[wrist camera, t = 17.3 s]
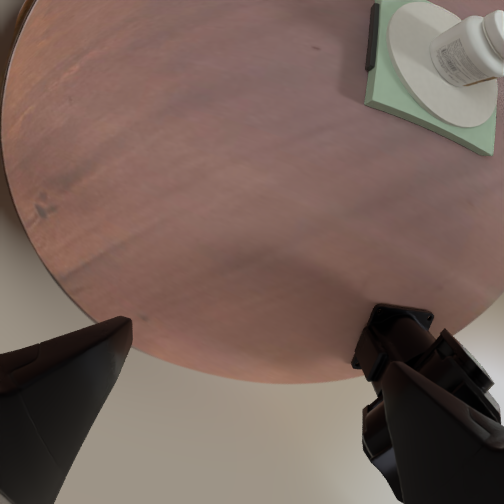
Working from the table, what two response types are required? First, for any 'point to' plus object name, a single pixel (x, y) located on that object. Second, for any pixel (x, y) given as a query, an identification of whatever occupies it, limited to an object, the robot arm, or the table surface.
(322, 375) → the table surface
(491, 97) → the scale
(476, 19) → the pill bottle
